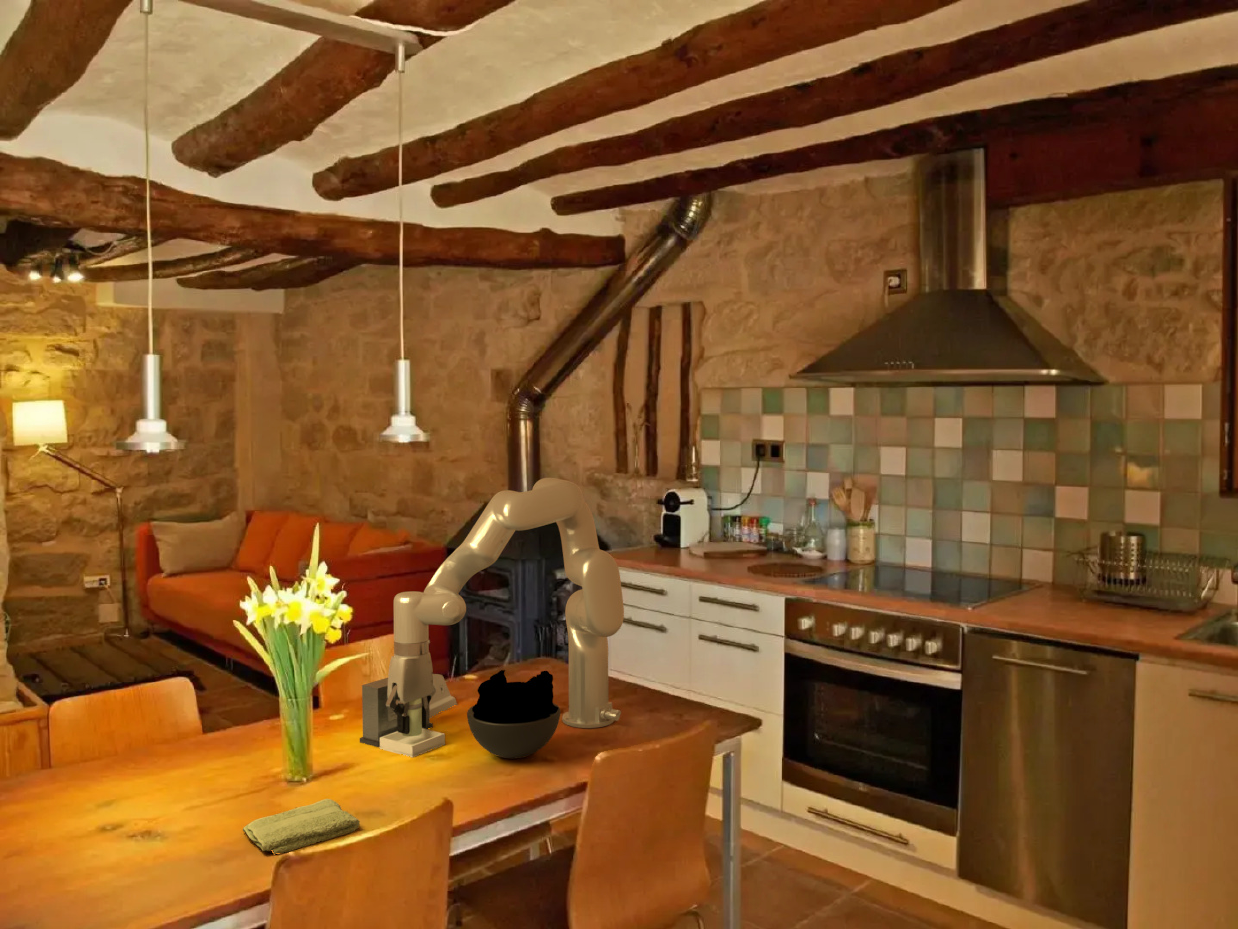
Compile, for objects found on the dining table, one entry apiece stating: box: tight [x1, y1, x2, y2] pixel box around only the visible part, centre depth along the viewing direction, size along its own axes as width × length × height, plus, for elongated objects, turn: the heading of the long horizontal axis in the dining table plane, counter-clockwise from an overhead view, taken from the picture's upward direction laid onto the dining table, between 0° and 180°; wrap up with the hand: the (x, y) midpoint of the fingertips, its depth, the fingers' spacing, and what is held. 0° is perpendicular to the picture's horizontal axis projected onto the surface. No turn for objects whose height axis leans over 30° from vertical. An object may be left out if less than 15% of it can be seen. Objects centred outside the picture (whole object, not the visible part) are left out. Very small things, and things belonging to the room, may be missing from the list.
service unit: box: [359, 677, 434, 748], centre depth 236 cm, size 6×17×13 cm, turn 146°
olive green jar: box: [401, 698, 422, 736], centre depth 227 cm, size 5×5×8 cm
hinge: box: [429, 673, 458, 719], centre depth 254 cm, size 17×5×10 cm, turn 156°
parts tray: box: [379, 728, 446, 758], centre depth 228 cm, size 10×10×2 cm
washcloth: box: [242, 798, 361, 854], centre depth 182 cm, size 13×18×3 cm
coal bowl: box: [466, 669, 561, 759], centre depth 221 cm, size 20×20×19 cm
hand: (411, 729), depth 228 cm, fingers closed on olive green jar, 4 cm apart
